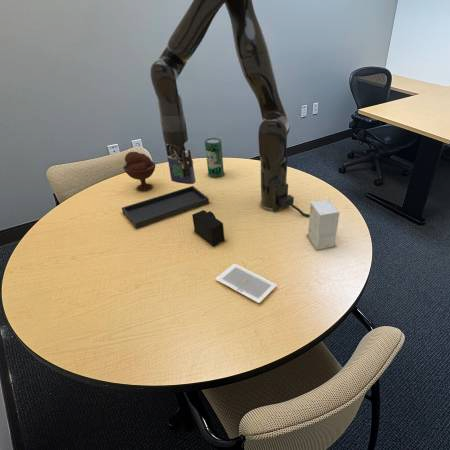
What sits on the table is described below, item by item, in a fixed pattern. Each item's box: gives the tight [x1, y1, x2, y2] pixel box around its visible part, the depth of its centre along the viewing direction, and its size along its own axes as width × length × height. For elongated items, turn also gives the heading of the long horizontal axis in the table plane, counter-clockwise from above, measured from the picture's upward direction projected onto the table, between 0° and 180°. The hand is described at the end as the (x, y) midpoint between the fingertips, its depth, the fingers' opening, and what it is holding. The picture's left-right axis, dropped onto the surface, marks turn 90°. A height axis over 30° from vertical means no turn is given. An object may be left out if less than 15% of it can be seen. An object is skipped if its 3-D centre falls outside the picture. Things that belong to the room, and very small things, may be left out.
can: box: [204, 137, 225, 179], centre depth 139 cm, size 6×6×15 cm
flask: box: [167, 155, 197, 185], centre depth 115 cm, size 9×3×11 cm, turn 76°
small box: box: [307, 199, 340, 251], centre depth 105 cm, size 8×6×13 cm
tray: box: [121, 185, 210, 230], centre depth 119 cm, size 12×26×2 cm, turn 133°
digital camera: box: [191, 209, 225, 247], centre depth 105 cm, size 10×5×7 cm, turn 47°
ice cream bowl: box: [122, 151, 156, 192], centre depth 126 cm, size 11×11×15 cm
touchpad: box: [214, 262, 278, 304], centre depth 90 cm, size 8×15×2 cm, turn 58°
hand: (181, 173), depth 117 cm, fingers closed on flask, 7 cm apart
